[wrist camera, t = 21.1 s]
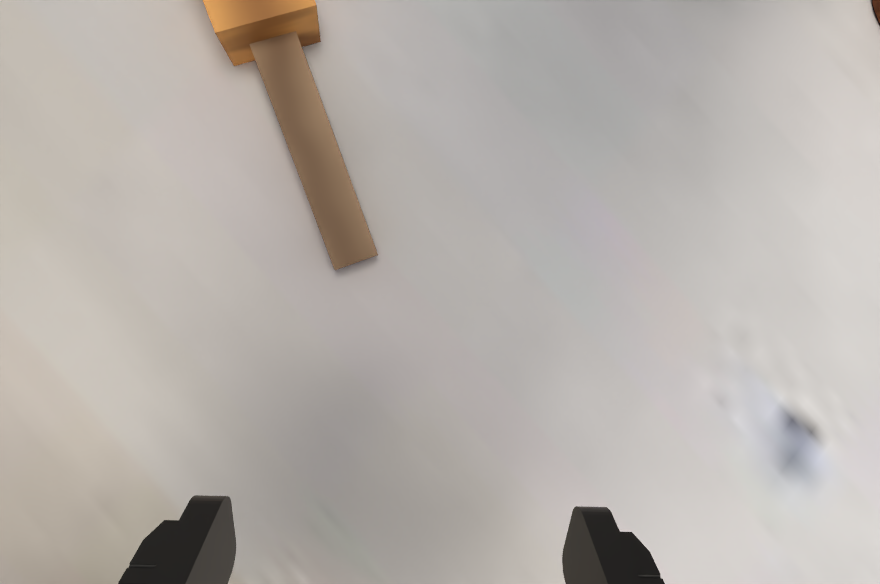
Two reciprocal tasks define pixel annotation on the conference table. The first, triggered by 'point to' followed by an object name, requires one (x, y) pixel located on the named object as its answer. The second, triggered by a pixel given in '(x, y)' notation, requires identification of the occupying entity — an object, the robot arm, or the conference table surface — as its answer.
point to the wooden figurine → (876, 8)
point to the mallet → (298, 111)
